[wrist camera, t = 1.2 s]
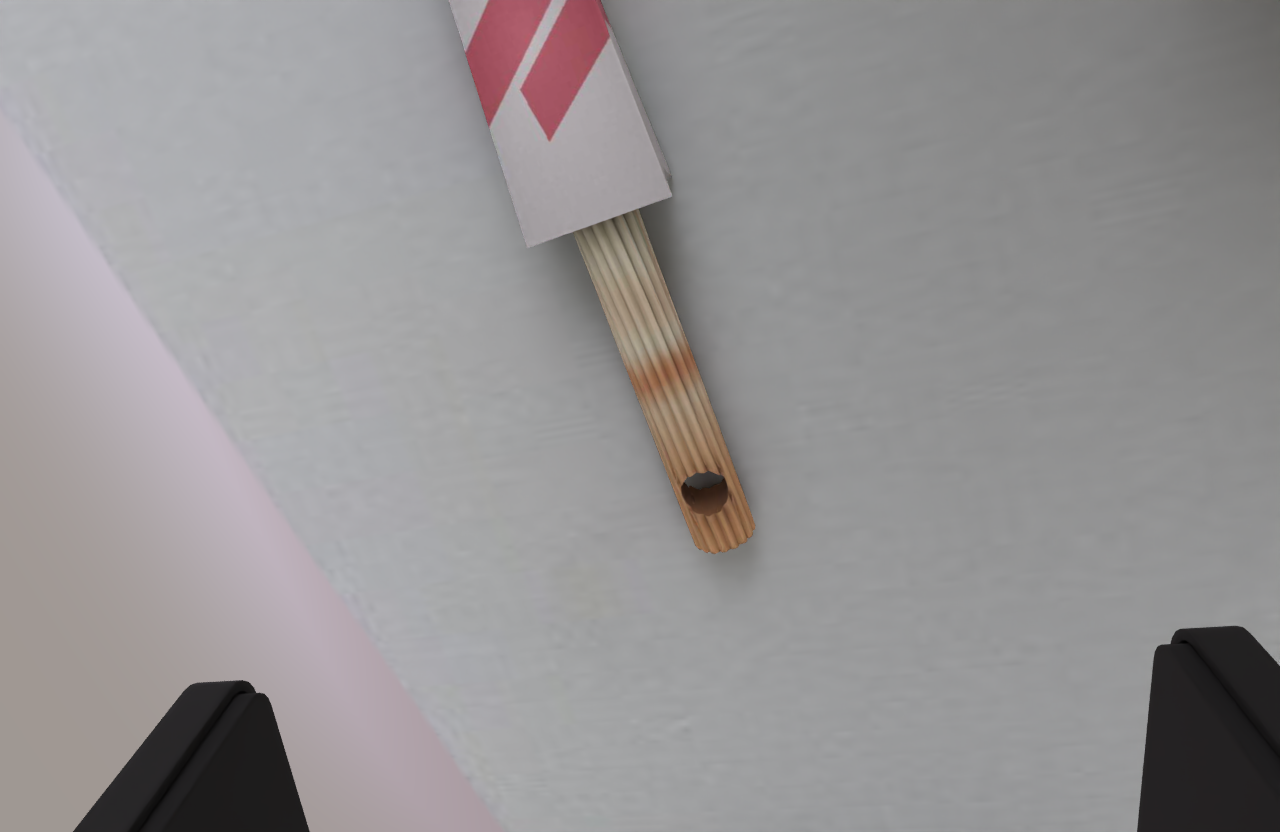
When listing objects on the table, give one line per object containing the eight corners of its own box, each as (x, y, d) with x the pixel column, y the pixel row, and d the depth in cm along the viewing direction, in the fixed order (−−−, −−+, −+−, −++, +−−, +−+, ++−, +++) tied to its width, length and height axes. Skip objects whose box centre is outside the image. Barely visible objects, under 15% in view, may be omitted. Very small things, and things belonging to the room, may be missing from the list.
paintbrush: (518, -261, 20) (789, 545, 27) (537, -235, 22) (781, 496, 30) (348, -186, 20) (659, 580, 28) (385, -168, 23) (661, 530, 30)
